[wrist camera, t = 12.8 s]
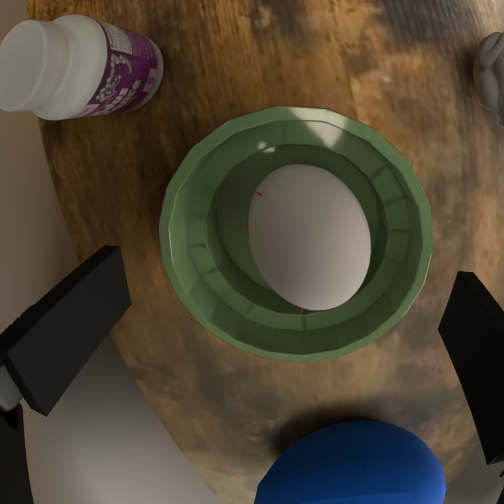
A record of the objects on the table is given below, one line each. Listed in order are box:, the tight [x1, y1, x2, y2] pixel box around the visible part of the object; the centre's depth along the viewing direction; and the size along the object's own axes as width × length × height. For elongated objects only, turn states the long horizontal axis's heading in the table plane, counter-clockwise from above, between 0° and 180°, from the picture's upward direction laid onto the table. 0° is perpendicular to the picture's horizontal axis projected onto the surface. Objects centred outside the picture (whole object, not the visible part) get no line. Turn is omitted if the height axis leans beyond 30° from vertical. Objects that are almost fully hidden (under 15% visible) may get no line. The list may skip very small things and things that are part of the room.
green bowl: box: [158, 106, 434, 362], centre depth 17 cm, size 13×13×5 cm
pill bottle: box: [0, 15, 163, 120], centre depth 12 cm, size 5×5×10 cm
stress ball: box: [246, 163, 371, 315], centre depth 16 cm, size 8×8×7 cm
